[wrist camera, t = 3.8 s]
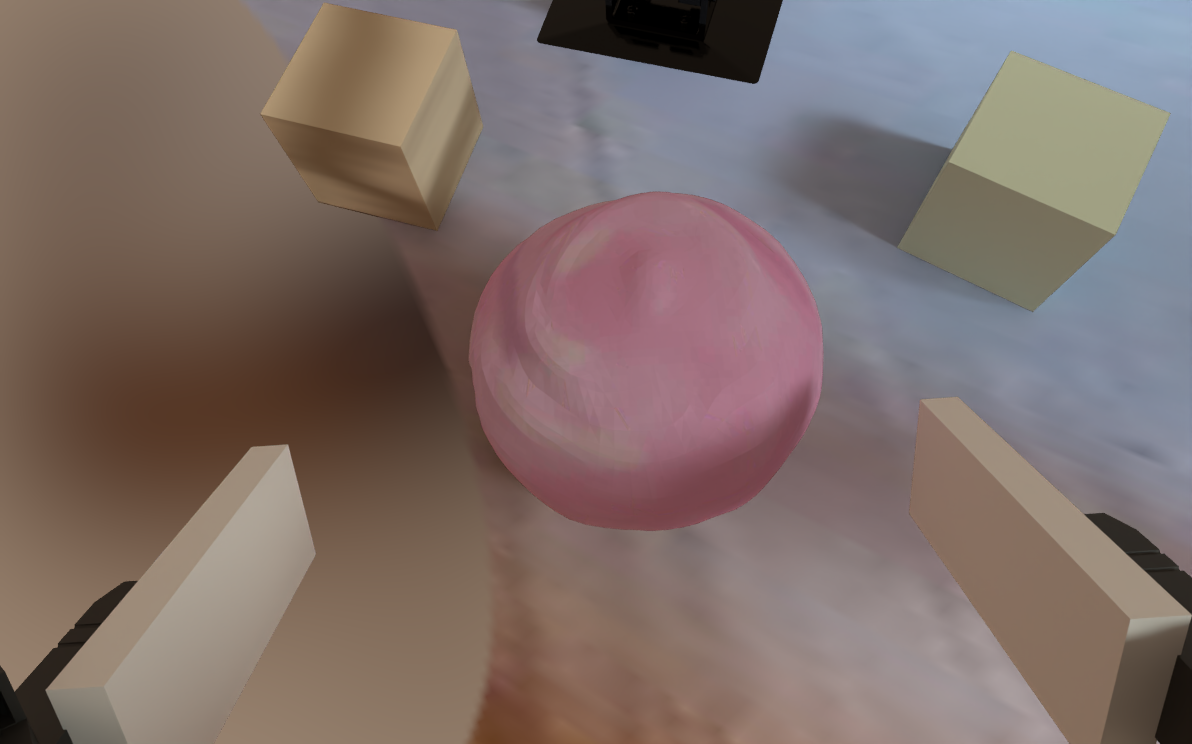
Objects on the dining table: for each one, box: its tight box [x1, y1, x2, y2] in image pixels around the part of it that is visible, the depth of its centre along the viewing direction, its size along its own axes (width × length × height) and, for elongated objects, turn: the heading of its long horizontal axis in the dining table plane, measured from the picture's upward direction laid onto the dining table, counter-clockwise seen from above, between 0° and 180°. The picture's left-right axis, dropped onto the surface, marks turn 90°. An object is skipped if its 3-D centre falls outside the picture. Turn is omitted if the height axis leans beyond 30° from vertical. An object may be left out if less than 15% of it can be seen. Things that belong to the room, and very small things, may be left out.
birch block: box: [261, 3, 483, 231], centre depth 28 cm, size 5×5×5 cm
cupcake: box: [468, 192, 823, 531], centre depth 21 cm, size 9×9×10 cm
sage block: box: [897, 51, 1171, 312], centre depth 26 cm, size 5×5×5 cm
